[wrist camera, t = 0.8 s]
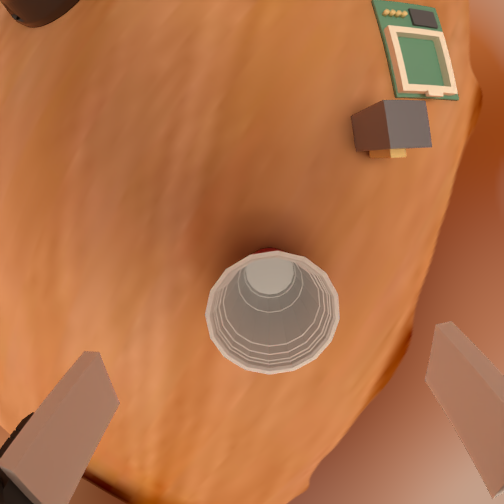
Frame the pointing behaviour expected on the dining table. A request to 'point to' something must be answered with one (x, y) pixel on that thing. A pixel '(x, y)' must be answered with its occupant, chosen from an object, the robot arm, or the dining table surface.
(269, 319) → the plastic cup
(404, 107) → the dark grey rectangular block
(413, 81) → the board
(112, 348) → the dining table surface
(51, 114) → the dining table surface
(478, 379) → the robot arm
